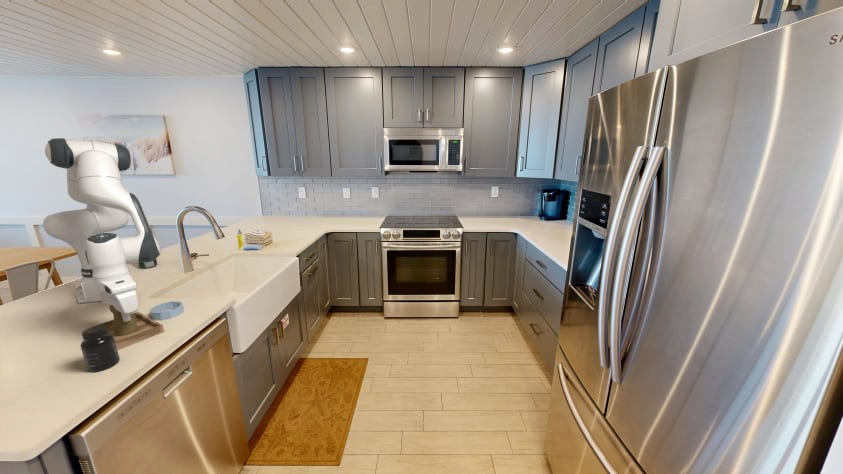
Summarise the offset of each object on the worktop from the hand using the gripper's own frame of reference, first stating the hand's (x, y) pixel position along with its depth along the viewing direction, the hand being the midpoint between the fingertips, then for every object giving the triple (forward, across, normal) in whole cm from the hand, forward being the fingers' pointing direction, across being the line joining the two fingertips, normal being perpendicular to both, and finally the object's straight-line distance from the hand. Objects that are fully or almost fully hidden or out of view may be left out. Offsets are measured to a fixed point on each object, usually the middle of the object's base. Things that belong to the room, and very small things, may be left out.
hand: (123, 318), depth 107 cm
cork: (+5, 0, 0) cm, 5 cm away
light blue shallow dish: (+6, -4, +14) cm, 16 cm away
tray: (+6, 0, 0) cm, 6 cm away
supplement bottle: (+6, +17, -11) cm, 21 cm away
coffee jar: (+6, -78, +35) cm, 86 cm away
